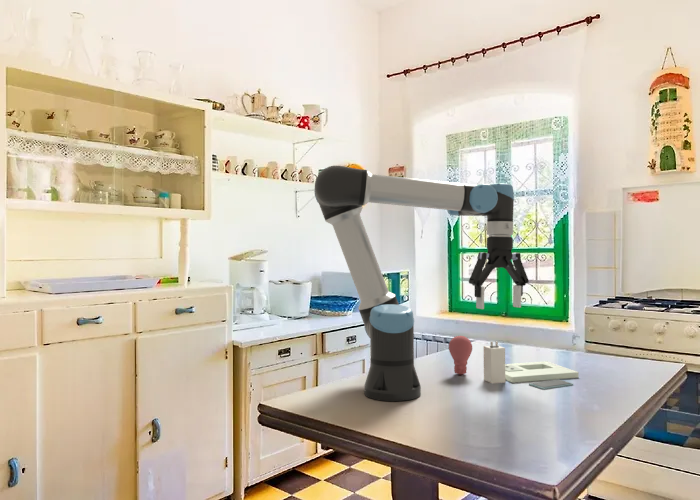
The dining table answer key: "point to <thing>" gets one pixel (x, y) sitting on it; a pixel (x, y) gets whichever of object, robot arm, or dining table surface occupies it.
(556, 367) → the outlet plate
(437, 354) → the dining table surface
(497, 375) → the charger
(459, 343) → the light bulb
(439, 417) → the dining table surface
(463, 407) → the dining table surface
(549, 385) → the phone
